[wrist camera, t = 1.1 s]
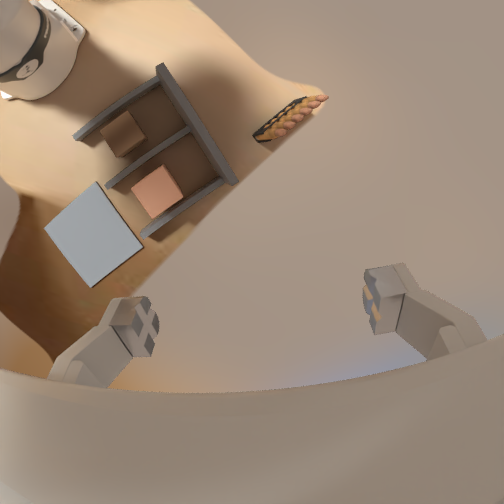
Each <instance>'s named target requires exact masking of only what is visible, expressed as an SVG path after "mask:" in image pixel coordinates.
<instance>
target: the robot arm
mask: <svg viewBox="0 0 504 504" xmlns="http://www.w3.org/2000/svg"><path fill="white" fill-rule="evenodd" d="M75 29H77V30H76V31H74V30H75ZM85 33H86V31H85V29H84V28H83V27H82V26H81V25H80V24H79V23H77V22H76V21H75V20H74V19H73V18H72V17H71V16H70V15H68V14H67V13H66V12H65V11H64V10H63V9H61V8H60V7H59V6H58V5H57V4H56V3H54V2H53V1H52V0H41V1H37V0H32V1H28V0H0V91H1V95H2V98H3V99H5V100H10V99H14V98H21V99H25V100H34V99H39V98H41V97H44V96H46V95H48V94H49V93H51V92H52V91H54V90H55V89H56V88H57V87H58V86H59V85H60V84H61V83H62V82H63V81H64V80H65V78H66V77H67V76H68V74H69V73H70V71H71V69H72V67H73V65H74V62H75V59H76V55H77V49H78V46H79V44H80V42H81V41H82V39H83V37H84V35H85ZM364 280H365V282H366V285H365V286H364V288H363V303H364V308H365V311H366V313H367V314H369V315H370V324H371V327H372V330H373V332H374V335H377V334H383V333H388V332H394V331H396V333H397V334H399V335H400V336H401V337H402V338H403V339H404V340H406V341H407V342H408V343H409V344H410V345H411V346H413V347H414V348H415V349H416V350H417V351H419V352H420V353H421V354H422V355H423V356H424V357H425V358H427V360H426V362H422V363H418V364H415V365H411V366H407V367H403V368H399V369H395V370H391V371H386V372H382V373H378V374H373V375H368V376H364V377H359V378H353V379H347V380H342V381H336V382H330V383H323V384H317V385H309V386H301V387H293V388H284V389H274V390H262V391H247V392H227V393H167V392H166V393H165V392H146V391H131V390H119V389H110V388H107V387H108V386H109V385H110V384H111V383H112V382H113V380H114V379H115V378H116V377H117V376H118V375H119V374H120V372H121V371H122V370H123V369H124V368H125V367H126V365H127V364H128V363H129V362H130V361H131V360H132V359H133V357H151V354H152V352H153V348H154V345H155V343H154V341H153V339H154V338H155V337H156V336H157V335H158V332H159V320H158V316H157V314H156V312H155V311H153V310H152V309H150V306H151V302H150V300H149V299H148V297H145V296H141V297H124V298H114V299H112V300H111V302H110V304H109V306H108V307H107V309H106V311H105V313H104V315H103V317H102V319H101V321H100V323H99V325H98V326H95V327H94V328H92V329H91V330H90V331H89V332H87V333H86V334H85V335H84V336H83V337H81V338H80V339H79V340H78V341H76V342H75V343H74V344H73V345H72V346H70V347H69V348H68V349H67V350H65V351H64V352H63V353H62V354H61V355H59V356H58V357H57V359H56V361H55V363H54V365H53V367H52V369H51V371H50V373H49V376H48V377H47V379H45V378H40V377H35V376H31V375H26V374H22V373H18V372H14V371H10V370H6V369H3V368H0V504H504V334H502V335H500V336H497V337H495V338H492V339H490V340H487V339H486V337H485V335H484V333H483V332H482V330H481V328H480V327H479V325H478V323H477V322H476V320H475V318H474V317H473V316H471V315H469V314H468V313H466V312H464V311H462V310H461V309H459V308H457V307H455V306H454V305H452V304H450V303H448V302H446V301H445V300H443V299H441V298H439V297H437V296H436V295H434V294H432V293H430V292H428V291H426V290H421V288H420V287H419V285H418V284H417V282H416V280H415V279H414V277H413V276H412V274H411V273H410V271H409V269H408V268H407V266H406V265H405V264H404V263H399V264H394V265H391V266H385V267H378V268H372V269H366V270H365V273H364Z"/></svg>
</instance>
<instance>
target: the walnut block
mask: <svg viewBox="0 0 504 504" xmlns="http://www.w3.org/2000/svg"><path fill="white" fill-rule="evenodd" d="M100 133H101V134H102V136H103V137H104V139H105V141H106V142H107V144H108V145H109V147H110V148H111V150H112V151H113V153H114V154H115V156H116V157H117V158H118V157H124V156H125V155H126V154H128V153H129V152H130V151H132V150H133V149H135V148H136V147H137V146H139V145H140V144H142V143H143V142H144V141H146V140H147V137H146V136H145V134H144V133H143V131H142V130H141V128H140V127H139V125H138V124H137V122H136V121H135V119H134V117H133V116H132V115H131V114H130V113H129V111H128V110H127V111H126V112H124V113H123V114H122V115H120V116H119V117H117V118H116V119H115V120H113V121H112V122H111V123H109V124H108V125H107V126H105V127H104V128H103V129H101V130H100Z"/></svg>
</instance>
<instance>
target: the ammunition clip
mask: <svg viewBox="0 0 504 504" xmlns="http://www.w3.org/2000/svg"><path fill="white" fill-rule="evenodd" d="M327 99H328V96H327V95H318V96H311V97H302V98H299V99H296V100H294V101H292V102H291V103H290V104H289V105H287V106H286V107H285V108H284V109H283V110H281V111H280V112H279V113H278V114H276V115H275V116H274V117H273V118H272V119H270V120H269V121H268V122H267V123H266V124H265V125H263V126H262V127H261V128H260V129H259V130H258V131H256V132H255V133H254V134H253V135H252V136H253V137H254V138H255V139H256V140H257V142H258V143H261V142H268V141H271V140H272V139H276V138H278V137H281V136H284V135H285V134H286V133H287V131H286V130H288V129H291V128H293V127H295V125H296V124H295V123H296V122H299V121H302V120H303V119H304V116H305V115H308V114H310V113H311V112H312V109H314V108H317V107H318V106H319V105H320V104H321V102H324V101H326V100H327Z"/></svg>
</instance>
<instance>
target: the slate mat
mask: <svg viewBox="0 0 504 504" xmlns="http://www.w3.org/2000/svg"><path fill="white" fill-rule="evenodd" d="M44 229H45V230H46V232H47V233H48V234H49V236H50V237H51V239H52V240H53V241H54V243H55V244H56V245H57V247H58V248H59V249H60V251H61V252H62V253H63V255H64V256H65V257H66V258H67V260H68V261H69V262H70V264H71V265H72V266H73V267H74V269H75V270H76V271H77V272H78V274H79V275H80V276H81V277H82V278H83V280H84V281H85V282H86V283H87V284H88V285H89V287H90V288H91V287H92V286H93V285H95V284H96V283H97V282H98V281H100V280H101V279H102V278H103V277H105V276H106V275H107V274H108V273H110V272H111V271H112V270H114V269H115V268H116V267H117V266H119V265H120V264H121V263H123V262H124V261H125V260H127V259H128V258H129V257H130V256H132V255H133V254H134V253H136V252H137V251H138V250H140V249H141V248H142V247H143V246H142V244H141V243H140V242H139V241H138V239H137V238H136V237H135V235H134V234H133V233H132V231H131V230H130V229H129V227H128V226H127V224H126V223H125V222H124V220H123V219H122V218H121V216H120V215H119V213H118V212H117V211H116V209H115V208H114V206H113V205H112V204H111V202H110V201H109V199H108V198H107V197H106V195H105V194H104V192H103V191H102V189H101V188H100V186H99V185H98V183H97V182H95V183H94V184H92V185H91V186H90V187H89V188H88V189H86V190H85V191H84V192H83V193H82V194H81V195H79V196H78V197H77V198H76V199H75V200H74V201H73V202H71V203H70V204H69V205H68V206H67V207H66V208H65V209H64V210H63V211H62V212H60V213H59V214H58V215H57V216H56V217H55V218H54V219H53V220H52V221H51V222H50V223H49V224H48V225H47V226H46V227H45V228H44Z"/></svg>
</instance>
